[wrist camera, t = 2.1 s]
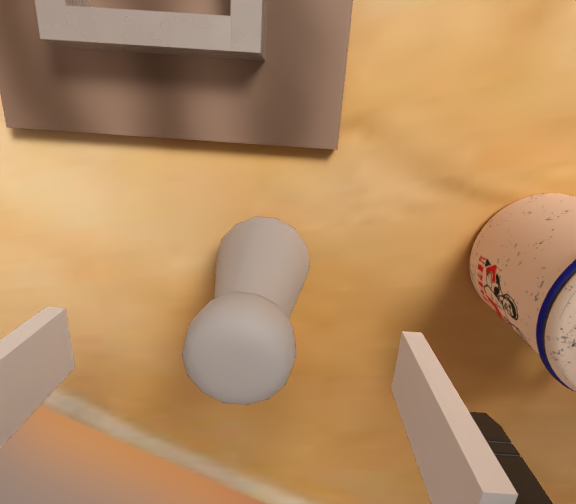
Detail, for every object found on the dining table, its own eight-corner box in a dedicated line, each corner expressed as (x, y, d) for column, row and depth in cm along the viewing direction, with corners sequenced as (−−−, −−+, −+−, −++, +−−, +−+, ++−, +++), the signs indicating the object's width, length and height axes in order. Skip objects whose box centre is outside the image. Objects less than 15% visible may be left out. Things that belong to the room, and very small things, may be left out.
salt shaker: (223, 283, 26) (155, 425, 14) (225, 205, 24) (147, 289, 12) (305, 291, 26) (307, 439, 14) (313, 212, 24) (324, 305, 12)
